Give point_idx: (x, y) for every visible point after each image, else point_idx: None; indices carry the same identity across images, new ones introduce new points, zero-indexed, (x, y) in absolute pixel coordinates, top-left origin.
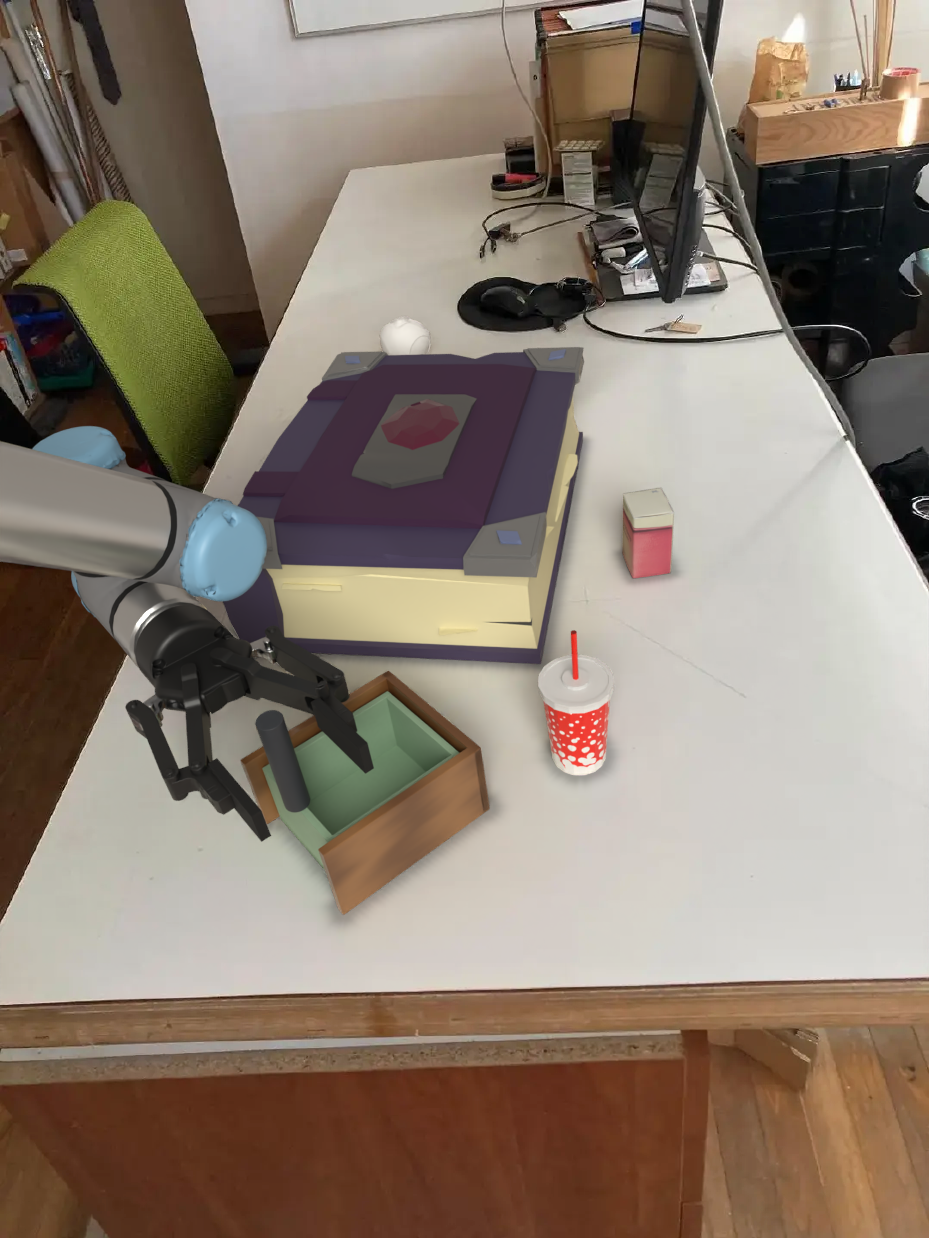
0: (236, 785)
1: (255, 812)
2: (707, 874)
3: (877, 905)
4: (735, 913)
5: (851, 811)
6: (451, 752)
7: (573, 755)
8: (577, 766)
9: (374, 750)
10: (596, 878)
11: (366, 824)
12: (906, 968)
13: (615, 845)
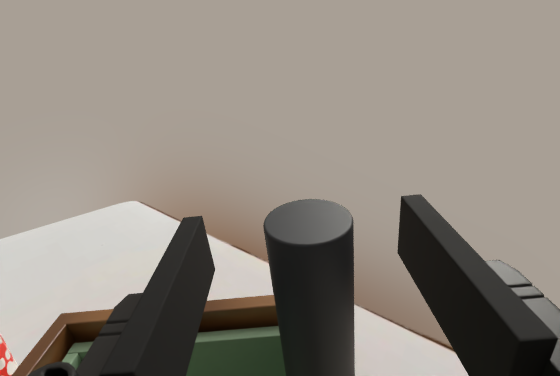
0: (446, 242)
1: (412, 197)
2: (110, 255)
3: (99, 216)
4: (133, 236)
5: (27, 245)
6: (74, 354)
7: (5, 347)
8: (13, 360)
9: None
10: (147, 284)
11: (261, 297)
12: (130, 201)
13: (108, 296)
